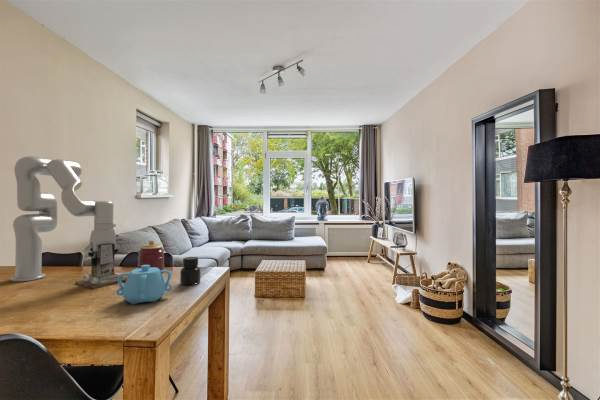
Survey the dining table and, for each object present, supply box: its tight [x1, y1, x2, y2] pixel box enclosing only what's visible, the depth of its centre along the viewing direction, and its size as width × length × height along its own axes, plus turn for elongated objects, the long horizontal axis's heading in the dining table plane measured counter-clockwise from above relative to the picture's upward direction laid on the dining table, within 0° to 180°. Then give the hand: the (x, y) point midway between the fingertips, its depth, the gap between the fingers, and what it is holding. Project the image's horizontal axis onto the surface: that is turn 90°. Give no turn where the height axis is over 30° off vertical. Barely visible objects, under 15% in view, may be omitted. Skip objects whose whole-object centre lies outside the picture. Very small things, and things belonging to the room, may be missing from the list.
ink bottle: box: [179, 256, 201, 286], centre depth 140 cm, size 10×9×12 cm
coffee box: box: [90, 243, 116, 278], centre depth 140 cm, size 9×6×16 cm
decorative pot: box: [115, 265, 173, 305], centre depth 116 cm, size 16×16×14 cm
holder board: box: [75, 272, 128, 290], centre depth 140 cm, size 16×16×4 cm
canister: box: [137, 240, 166, 271], centre depth 159 cm, size 13×13×18 cm
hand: (102, 264), depth 140 cm, fingers closed on coffee box, 6 cm apart
